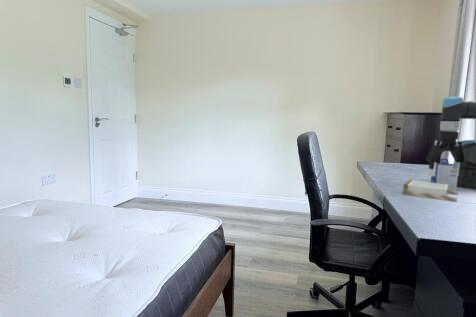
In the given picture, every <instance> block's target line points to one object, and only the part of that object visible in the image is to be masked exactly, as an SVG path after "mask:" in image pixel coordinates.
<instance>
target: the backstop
mask: <svg viewBox="0 0 476 317" xmlns="http://www.w3.org/2000/svg"><path fill="white" fill-rule="evenodd" d="M412 180H413V179H412V178H408V180H406V181H405V182H404V183H403V188H402V191H403V192H402V195H409V196H414V197H415V196H416V197H421V198H429V199H436V200H442V201H450V202H458V197H455V196H447V195H456V196H458V195H459V190H456V191H452V190H447V195H446V196H441V195H434V194H427V193H420V192H412V191H407V187H408V184H409V183H410V182H411V181H412Z"/></svg>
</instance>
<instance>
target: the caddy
mask: <svg viewBox="0 0 476 317" xmlns="http://www.w3.org/2000/svg"><path fill="white" fill-rule="evenodd" d="M447 190H448V185H445V184H437V183H431V182H429V181H420V180H414V179H412V181H411V182H410V183H409V184H408V187H407V191H412V192H420V193H427V194H434V195H441V196H447V195H448V194H447Z"/></svg>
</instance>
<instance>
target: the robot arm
mask: <svg viewBox="0 0 476 317" xmlns="http://www.w3.org/2000/svg"><path fill="white" fill-rule="evenodd" d="M462 119H463V120H476V99H474V100H469V101H464V99H463V97H461V96H447V97H444V99H443V102H442V106H441V116H440V124H439V130H440V131H439V134H438V139H439V140H433V143H432V147H431V148H430V150H429V153H428V154H427V156H426V158H425V160H426V161H427V162H429V163H428V164H429V165H428V169H429V172H428V176H430V177H431V176H435V172H436V164H438V163H437V160H438V159H439V158H440V156H441V155H442V154H443V153H444V152H450V154H451V156H452V158H453V160H454V161H453V163H452V164H455V165H459V168H458V177H457V187H461V188H468V189H476V139H466V140H465V139H464V140H460V141H458V140H459V135H460V134H459V133H460V132H459V130H460V124H461V120H462Z"/></svg>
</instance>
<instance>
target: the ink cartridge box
mask: <svg viewBox="0 0 476 317" xmlns="http://www.w3.org/2000/svg"><path fill="white" fill-rule="evenodd" d="M439 160H440V161H439V162H440V163H437V164H436V172H435V176H430V183H437V184H445V185H448V190H452V191H457V187H458V186H457V177H458V168H459V165H455V164H453V163H449V159H448V158H440V159H439Z"/></svg>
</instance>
